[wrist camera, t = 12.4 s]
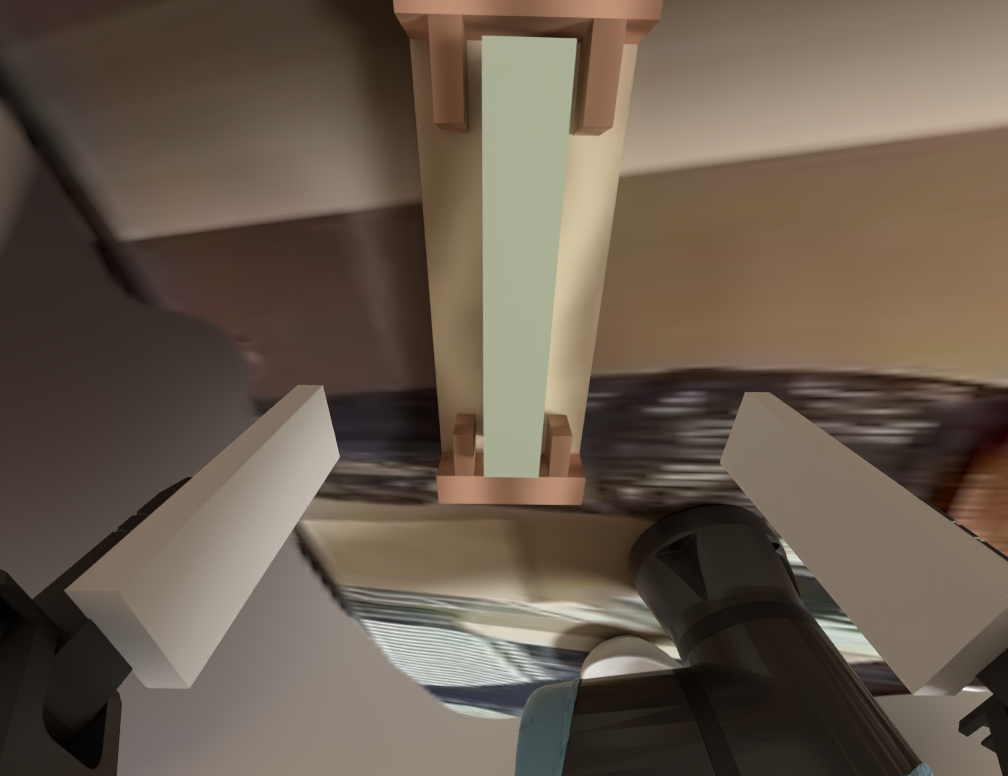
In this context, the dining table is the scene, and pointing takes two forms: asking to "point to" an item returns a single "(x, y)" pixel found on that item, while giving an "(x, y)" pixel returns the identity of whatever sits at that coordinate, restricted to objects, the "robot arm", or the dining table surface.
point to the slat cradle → (459, 219)
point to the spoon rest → (625, 658)
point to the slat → (521, 237)
